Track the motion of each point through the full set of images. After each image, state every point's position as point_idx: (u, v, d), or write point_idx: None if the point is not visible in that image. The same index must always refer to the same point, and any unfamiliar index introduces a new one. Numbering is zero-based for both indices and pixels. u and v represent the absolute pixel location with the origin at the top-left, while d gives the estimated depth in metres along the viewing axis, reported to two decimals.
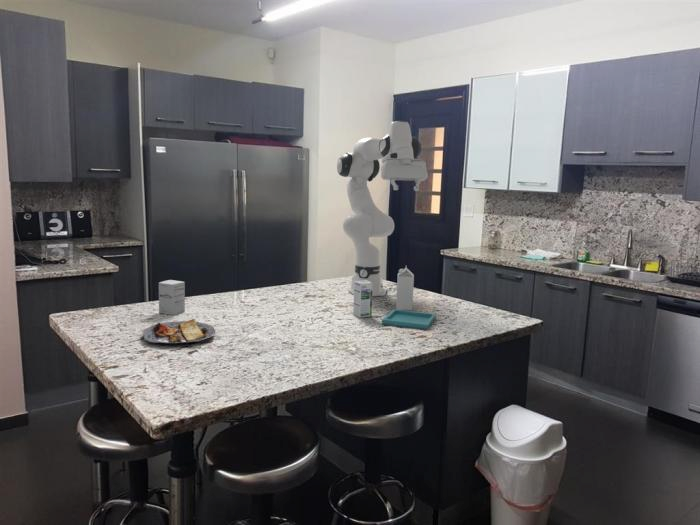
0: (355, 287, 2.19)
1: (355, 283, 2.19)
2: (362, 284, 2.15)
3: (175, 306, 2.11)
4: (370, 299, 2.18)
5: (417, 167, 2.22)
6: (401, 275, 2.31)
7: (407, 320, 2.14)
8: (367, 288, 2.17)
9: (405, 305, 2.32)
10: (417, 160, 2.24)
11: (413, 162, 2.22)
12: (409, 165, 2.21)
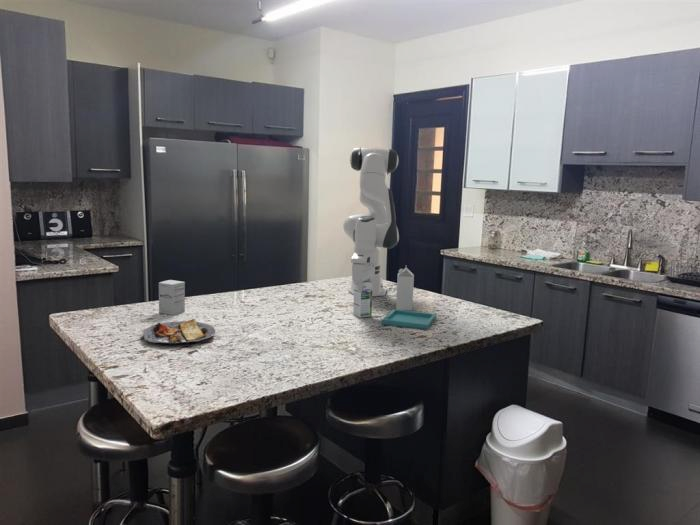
0: (355, 287, 2.19)
1: (355, 283, 2.19)
2: (362, 284, 2.15)
3: (175, 306, 2.11)
4: (370, 299, 2.18)
5: (371, 265, 2.22)
6: (401, 275, 2.31)
7: (407, 320, 2.14)
8: (366, 288, 2.17)
9: (405, 305, 2.32)
10: None
11: None
12: None
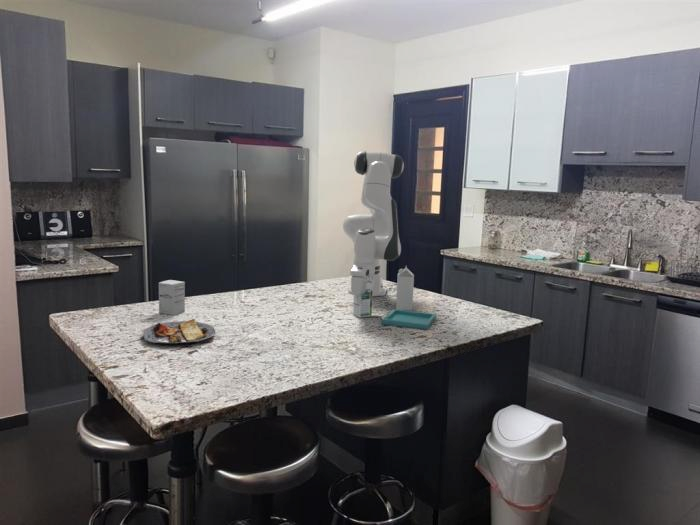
0: None
1: None
2: None
3: (175, 306, 2.11)
4: (370, 299, 2.18)
5: (371, 277, 2.23)
6: (401, 275, 2.31)
7: (407, 320, 2.14)
8: (367, 288, 2.17)
9: (405, 305, 2.32)
10: None
11: None
12: None
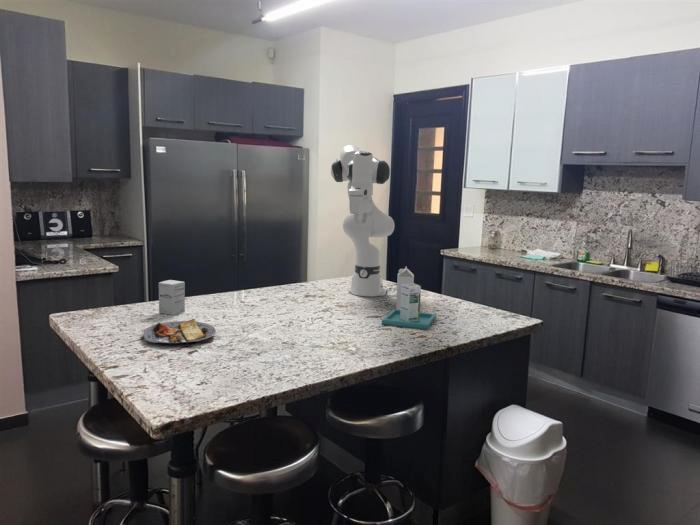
0: (403, 291, 2.13)
1: (403, 286, 2.13)
2: (411, 287, 2.09)
3: (175, 306, 2.11)
4: (418, 303, 2.12)
5: (369, 201, 2.28)
6: (401, 275, 2.31)
7: None
8: (415, 291, 2.10)
9: None
10: None
11: (368, 196, 2.26)
12: (366, 199, 2.24)
